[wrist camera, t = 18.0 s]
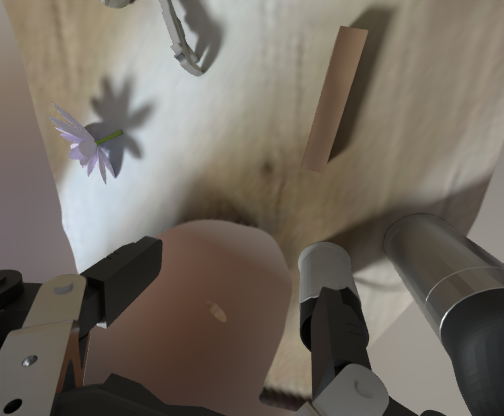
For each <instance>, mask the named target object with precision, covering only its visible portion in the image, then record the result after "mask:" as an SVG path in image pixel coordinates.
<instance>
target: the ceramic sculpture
mask: <svg viewBox="0 0 504 416" xmlns="http://www.w3.org/2000/svg"><path fill="white" fill-rule="evenodd" d="M100 1H101V2H102V3H103V4H104V5H105V6H107V7H111V8H123V7H125V6H127V5H128V4H129V2H130V0H100Z"/></svg>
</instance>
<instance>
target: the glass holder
mask: <svg viewBox="0 0 504 416" xmlns="http://www.w3.org/2000/svg"><path fill="white" fill-rule="evenodd" d="M298 267H299V271H300V298H299V307H300V337H301V340H302V342H303V344H304V345H305V346H306V348H307V349H308V350H309V351H310V352H311V319H312V314H313V311H314V308H315V305H316V302H317V300H318V297H319V294H320V291H321V289H322V287H323V286H324V287H328V288H331V289H335V290H338V291H340V292H341V297H342V302H343V304H345V305H349V306H351V308H352V309H353V311H354V312H355V313H356V315H357V317H358V320H359V324H360V328H361V332H362V337H363V339H364V343H365V347H367V345H368V342H369V333H368V329H367V326H366V323H365V319H364V316H363V313H362V309H361V301H360V298H359V295H358V291H357V288H356V285H355V282H354V278H353V275H352V272H351V259H350V257H349V255H348V253H347V252H346V251H345V250H344V249H343V248H342V247H340V246H339V245H337V244H334V243H331V242H317V243H314V244H311V245H309V246H308V247H306V248H305V249H304V250H303V251H302V253H301V254H300V256H299V260H298Z"/></svg>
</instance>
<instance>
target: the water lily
mask: <svg viewBox="0 0 504 416" xmlns="http://www.w3.org/2000/svg"><path fill="white" fill-rule="evenodd" d="M52 104H53V105H54V106H55V108H56V109H57V110H58V111H59V112H60V113H61V114H62V115H63V116H64V117H65V118H66V119H67V120H68V121H69V122H70V123H72V124H73V125H74V126H76V127H77V128H78V129H77V128H76V127H74V126H72V125H70V124H68V123H66V122H64V121H62V120H59V119H56V118H53V117H50V116H48V117H49V119H50V120H51V121H52V122H53V123H55V124H56V125H57V126H58V127H59V128H56V127H54V128H56V129H57V130H59V131H61V132H63V133H65V134H60V136H62V137H63V138H65V139H66V140H69V141H71V142H74V144H72V145H71V149H72V150H71V151H70V153H69V157H70V158H71V159H75V160H78V159H80V165H82V168H84V167H86V166H87V165H88V169H87V173H88V176H89V175H90V174H91V172H92V170H93V168H94V166H95V163H96V161H97V165H98V167H99V169H100V172H101V175H102V178H103V180H104V182H105V184H106V170H105V165H106V167H107V168H108V170H109V171H110V173H111V174H112V175H113V177H114V178H115V175H114V171H113V168H112V166H111V163H110V161H109V160H108V158H107V156H106V155H105V153H104V152H103V150H102V149H101V148H100V146H99V144H100V143H103V142H105V141H107V140H109V139H112V138H114V137H116V136H118V135H120V134H122V131H121V130H120V131H118V132H115V133H113V134H111V135H109V136H107V137H105V138H103V139H101V140H99V141H95V140H94V138H93V137H92V136H91V135H90V133H89V132H88V131H87V130H86V129H85V128H84V127H83V126H82V125H81V124H80V123H79V122H78V121H77V120H76V119H75V118H73V117H72V116H71V115H70V114H68V113H67V112H66V111H64V110H63V109H62V108H60V107H59V106H57V105H56V104H54V103H52ZM79 129H80V130H81V131H80V130H79ZM104 163H105V165H104Z"/></svg>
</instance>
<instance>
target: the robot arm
mask: <svg viewBox="0 0 504 416" xmlns="http://www.w3.org/2000/svg"><path fill="white" fill-rule="evenodd" d="M384 249H385V252H386V254H387V256H388V258H389V259H390V261H391V263H392V264H393V266H394V268H395V269H396V271H397V273H398V274H399V276H400V277H401V279H402V281H403V282H404V284H405V285H406V287H407V289H408V290H409V292H410V294H411V295H412V297H413V298H414V300H415V302H416V303H417V305H418V306H419V308H420V310H421V311H422V313H423V314H424V316H425V318H426V319H427V321H428V322H429V324H430V325H431V327H432V329H433V330H434V332H435V334H436V335H437V337H438V338H439V340H440V342H441V343H442V345H443V346H444V348H445V350H446V352H447V353H448V355H449V357H450V358H451V361H452V364H453V368H454V372H455V377H456V380H457V383H458V387H459V389H460V392H461V394H462V397H463V399H464V401H465V403H466V405H467V407H468V409H469V411H470V413H471V415H472V416H504V263H502V262H501V261H500V260H498V259H497V258H495V257H494V256H492V255H491V254H490V253H488V252H487V251H485V250H484V249H482V248H481V247H480V246H478V245H477V244H475V243H474V242H472V241H471V240H470V239H468V238H467V237H465V236H464V235H462V234H461V233H460V232H458V231H457V230H456V229H454V228H453V227H451V226H450V225H448V224H447V223H445V222H444V221H443V220H441V219H439V218H437V217H435V216H432V215H428V214H416V215H410V216H407V217H404V218H402V219H400V220H398V221H397V222H396V223H394V224H393V225H392V226H391V227H390V229H389V230H388V231H387V233H386V235H385V239H384ZM161 263H162V240H160V239H156V238H153V237H149V236H145V237H143V238H142V239H140V240H139V241H137V242H136V243H130V244H127V245H124V246H122V247H120V248H119V249H117V250H116V251H114V252H113V253H111V254H109V255H108V256H106V258H103V259H102V260H100V261H99V262H97V263H96V264H94V265H93V266H91V267H90V268H88V269H87V270H85V271H84V272H82V273H81V274H79V275H78V274H65V275H60V276H57V277H54V278H52V279H50V280H48V281H46V282H45V283H44V284H39V283H23V279H22V274H21V273H20V272H19V271H16V270H0V416H225V415H223V414H220V413H217V412H215V411H212V410H209V409H206V408H204V407H196V406H178V405H167V404H165V403H163V402H162V401H160V400H159V399H158V398H157V397H156V396H155V395H153V394H152V393H151V392H150V391H149V390H147V389H146V388H145V387H144V386H143V385H141V384H140V383H137V382H135V381H132V380H129V379H127V378H124V377H121V376H119V375H116V374H113V373H111V375H110V376H109V377H108V379H107V380H106V381H105V382H104V384H101V383H100V384H90V385H85V386H83V383H84V373H85V367H86V361H87V354H88V348H89V342H90V334H91V333H90V330H91V329H92V328H93V327H94V326H95V325H98V326H101V327H104V328H108V326H109V325H110V324H111V323H112V322H113V321H114V320H115V319H116V318H117V317H118V316H119V315H120V314H121V313H122V312H123V311H124V310H125V309H126V308H127V307H128V306H129V305H130V304H131V303H132V302H133V301H134V300H135V299H136V298H137V297H138V296H139V295H140V294H141V293H142V292H143V291H144V290H145V289H146V288H147V287H148V286H149V285H150V283H152V282H153V281H154V280H155V278H156V277H157V276H158V274H159V272H160V270H161ZM311 360H312V403H311V402H310V401H308V402H306V403H305V404H304V405H303V406H302V407H301V408H300V409H299V410H298V411H297V412H296V413H295V414H294V415H293V416H418V415H417V414H415V413H414V412H412V411H411V410H409V409H407V408H406V407H404V406H403V405H401V404H399V403H398V402H396V401H395V400H393V399H392V398H391V397H390V396H389V395H388V392H387V389H386V387H385V386H384V384H383V382H382V381H381V380H380V379H379V378H378V376H377V375H376V374H374V373H373V372H372V369H371V365H370V362H369V358H368V354H367V350H366V347H365V343H364V339H363V337H362V332H361V328H360V324H359V320H358V317H357V315H356V313H355V312H354V311H353V309H352V308H351V306H349V305H345V304H343V302H342V297H341V292H340V291H338V290H335V289H331V288H328V287H324V286H323V287H322V289H321V291H320V294H319V297H318V300H317V302H316V305H315V308H314V311H313V314H312V319H311ZM420 416H446V415H444V414H442V413H440V412H437V411H434V410H426V411H424V412H423V413H422V414H421V415H420Z"/></svg>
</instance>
